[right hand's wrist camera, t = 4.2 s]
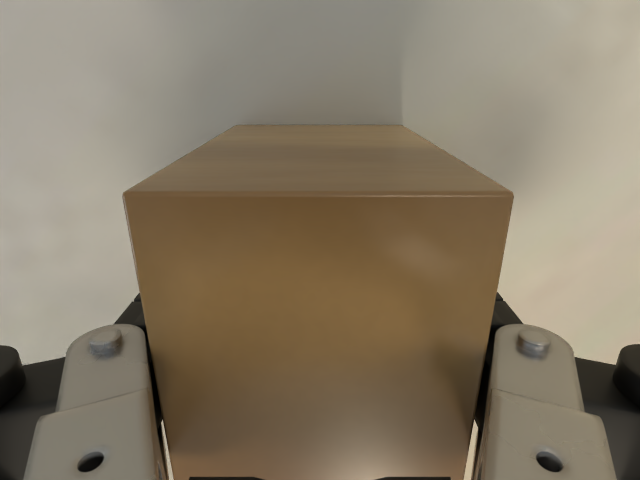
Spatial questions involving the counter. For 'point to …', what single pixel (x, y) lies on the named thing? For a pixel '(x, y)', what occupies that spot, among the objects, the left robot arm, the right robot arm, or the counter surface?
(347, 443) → the bar
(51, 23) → the counter surface
